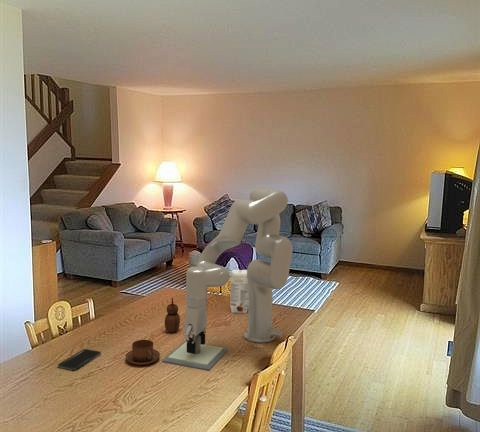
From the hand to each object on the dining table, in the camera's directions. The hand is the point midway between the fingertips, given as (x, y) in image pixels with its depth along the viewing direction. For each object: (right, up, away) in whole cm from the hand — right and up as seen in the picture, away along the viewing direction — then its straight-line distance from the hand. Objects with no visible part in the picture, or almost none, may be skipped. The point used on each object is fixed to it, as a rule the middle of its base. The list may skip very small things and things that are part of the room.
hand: (196, 348), depth 177 cm
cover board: (0, -2, 0) cm, 2 cm away
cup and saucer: (-19, -4, -4) cm, 19 cm away
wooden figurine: (-12, 0, +24) cm, 26 cm away
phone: (-40, -3, -5) cm, 41 cm away
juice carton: (+16, +4, +50) cm, 52 cm away
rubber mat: (0, -3, +1) cm, 3 cm away
